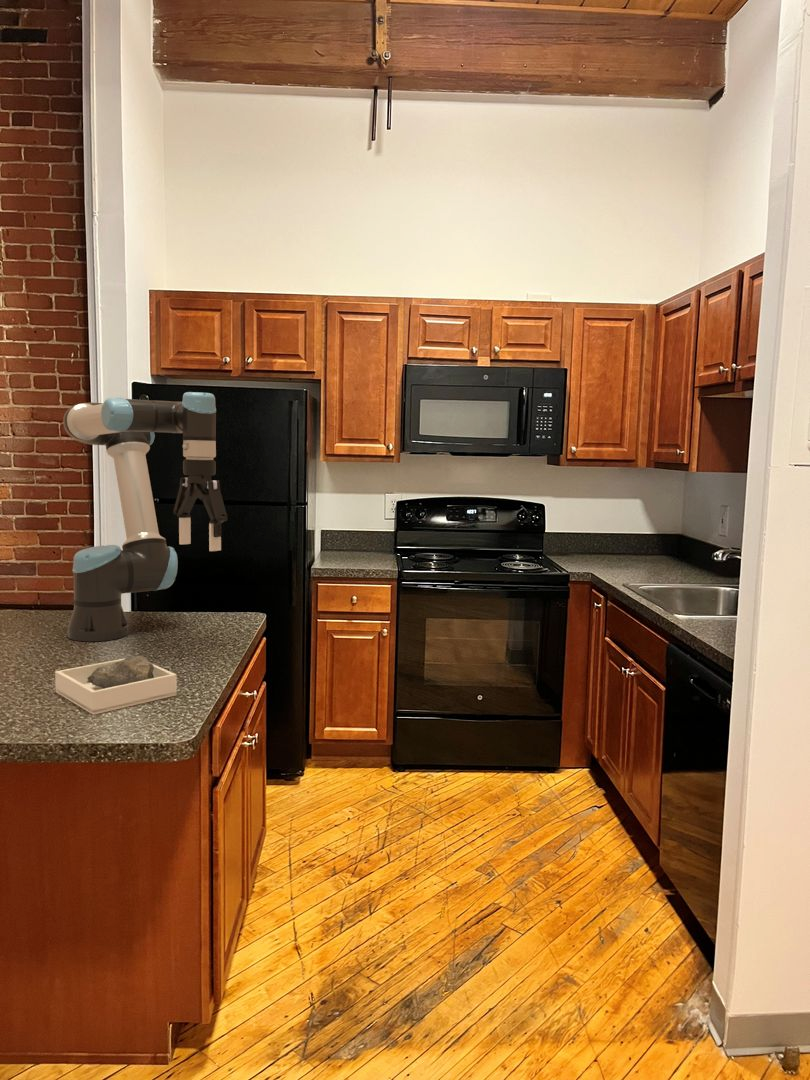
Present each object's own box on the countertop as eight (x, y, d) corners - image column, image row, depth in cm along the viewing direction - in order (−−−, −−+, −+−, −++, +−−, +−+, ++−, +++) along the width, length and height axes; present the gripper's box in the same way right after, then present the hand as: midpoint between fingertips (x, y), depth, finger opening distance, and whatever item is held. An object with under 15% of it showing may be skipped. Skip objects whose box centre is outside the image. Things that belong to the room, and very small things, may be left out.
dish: (55, 692, 160) (55, 671, 160) (136, 675, 173) (135, 656, 172) (93, 714, 148) (92, 692, 148) (176, 695, 161) (176, 674, 160)
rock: (86, 696, 155) (85, 664, 155) (88, 684, 163) (88, 653, 163) (156, 691, 160) (156, 660, 159) (155, 680, 168) (155, 650, 167)
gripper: (158, 456, 190) (159, 542, 193) (214, 460, 173) (214, 555, 175) (186, 456, 195) (186, 540, 198) (242, 460, 178) (242, 552, 181)
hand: (199, 547), depth 187 cm, fingers open, 13 cm apart
